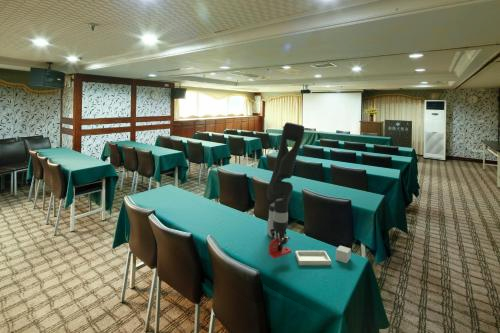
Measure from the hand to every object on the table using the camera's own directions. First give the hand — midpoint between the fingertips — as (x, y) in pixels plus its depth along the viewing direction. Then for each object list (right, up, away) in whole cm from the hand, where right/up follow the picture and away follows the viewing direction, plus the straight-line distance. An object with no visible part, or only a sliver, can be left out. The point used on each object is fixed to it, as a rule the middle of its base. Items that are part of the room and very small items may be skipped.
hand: (278, 249), depth 147 cm
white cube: (+35, -6, +4) cm, 36 cm away
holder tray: (+18, -6, +3) cm, 19 cm away
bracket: (+1, -2, -1) cm, 2 cm away
